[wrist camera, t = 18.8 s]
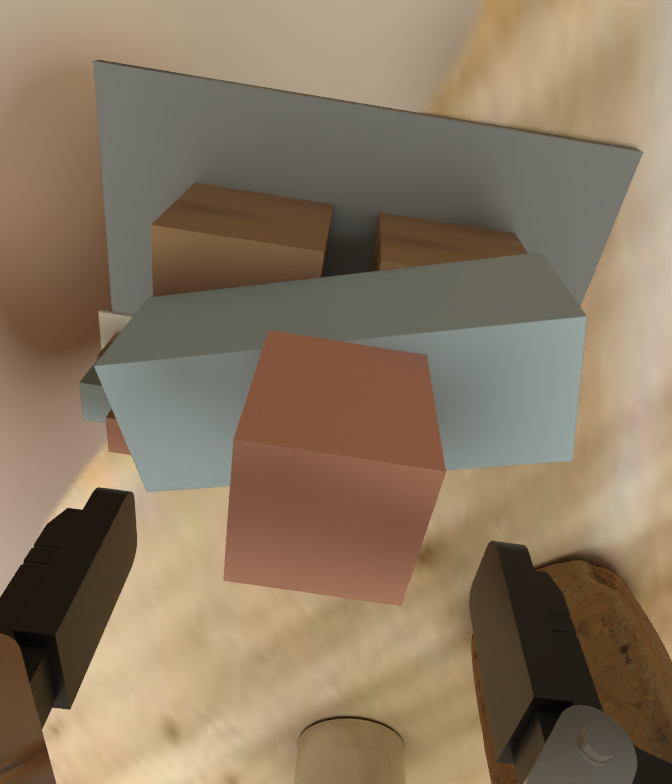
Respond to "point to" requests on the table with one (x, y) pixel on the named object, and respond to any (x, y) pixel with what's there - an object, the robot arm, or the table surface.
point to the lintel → (365, 327)
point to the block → (607, 661)
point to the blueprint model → (91, 387)
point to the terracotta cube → (333, 469)
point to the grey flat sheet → (343, 171)
